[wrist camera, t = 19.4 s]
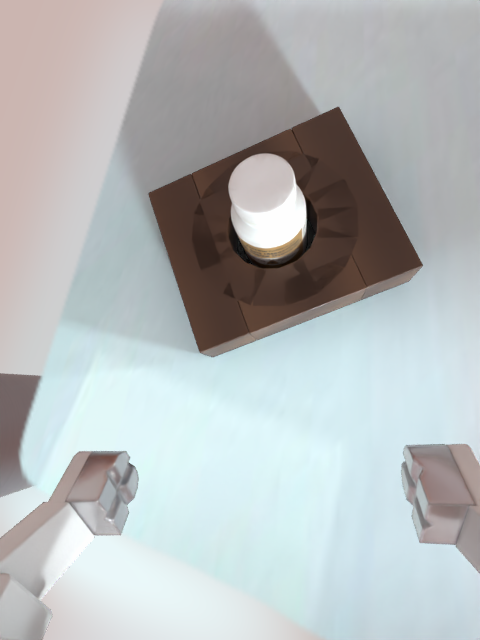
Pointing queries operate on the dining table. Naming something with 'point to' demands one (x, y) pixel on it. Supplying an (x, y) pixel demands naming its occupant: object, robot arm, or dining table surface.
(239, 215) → the pill bottle
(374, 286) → the socket pad
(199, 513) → the dining table surface
